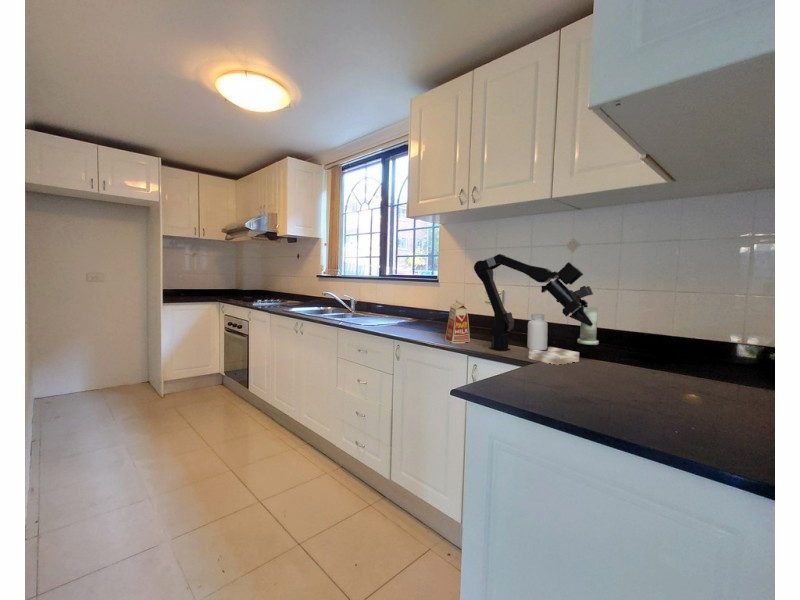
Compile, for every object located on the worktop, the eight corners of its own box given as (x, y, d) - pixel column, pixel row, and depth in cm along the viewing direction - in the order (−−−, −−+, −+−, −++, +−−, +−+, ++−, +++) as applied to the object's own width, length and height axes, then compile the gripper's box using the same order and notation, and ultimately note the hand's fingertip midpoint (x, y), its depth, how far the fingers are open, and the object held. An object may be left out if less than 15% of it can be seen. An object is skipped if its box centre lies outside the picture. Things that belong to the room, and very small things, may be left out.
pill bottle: (528, 346, 153) (529, 313, 152) (547, 348, 149) (548, 314, 148) (526, 349, 146) (527, 314, 145) (546, 351, 142) (547, 315, 141)
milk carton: (444, 340, 165) (445, 299, 164) (461, 340, 168) (462, 299, 167) (453, 344, 156) (454, 300, 155) (471, 343, 159) (472, 300, 158)
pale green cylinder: (573, 342, 126) (574, 307, 126) (584, 341, 130) (586, 306, 129) (591, 345, 120) (592, 308, 120) (602, 343, 124) (604, 308, 123)
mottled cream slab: (528, 358, 128) (529, 349, 128) (550, 355, 133) (550, 346, 133) (556, 365, 117) (557, 355, 117) (578, 361, 123) (579, 352, 123)
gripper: (573, 277, 119) (609, 311, 113) (582, 279, 134) (614, 308, 128) (549, 299, 124) (581, 332, 118) (560, 298, 139) (589, 327, 133)
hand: (592, 324), depth 124 cm, fingers closed on pale green cylinder, 5 cm apart
